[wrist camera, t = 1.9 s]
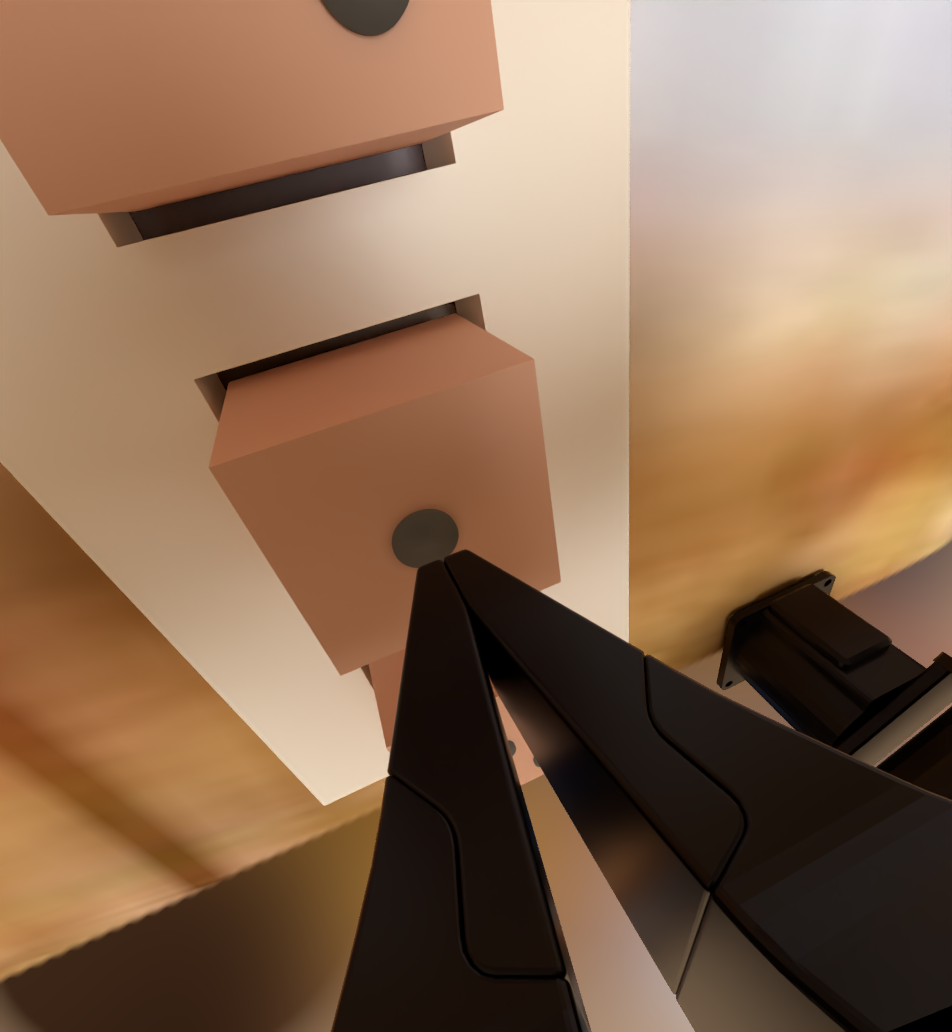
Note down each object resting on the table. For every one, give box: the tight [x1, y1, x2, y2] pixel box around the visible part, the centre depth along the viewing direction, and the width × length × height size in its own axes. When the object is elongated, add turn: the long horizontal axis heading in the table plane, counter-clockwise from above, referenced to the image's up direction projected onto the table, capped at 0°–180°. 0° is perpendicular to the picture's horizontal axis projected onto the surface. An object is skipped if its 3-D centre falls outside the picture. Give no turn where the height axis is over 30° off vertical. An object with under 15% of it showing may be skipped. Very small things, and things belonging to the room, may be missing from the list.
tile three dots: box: [369, 649, 544, 785], centre depth 15 cm, size 5×5×4 cm
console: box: [0, 0, 630, 806], centre depth 12 cm, size 25×13×2 cm, turn 13°
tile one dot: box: [209, 313, 561, 676], centre depth 10 cm, size 5×5×4 cm
